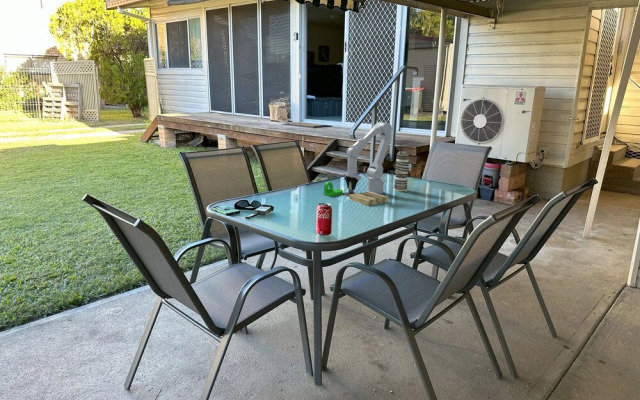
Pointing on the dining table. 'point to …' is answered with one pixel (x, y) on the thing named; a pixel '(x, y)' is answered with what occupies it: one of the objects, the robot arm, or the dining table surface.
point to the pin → (350, 189)
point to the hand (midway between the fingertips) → (351, 189)
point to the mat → (347, 194)
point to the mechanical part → (331, 190)
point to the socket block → (368, 198)
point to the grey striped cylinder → (401, 171)
